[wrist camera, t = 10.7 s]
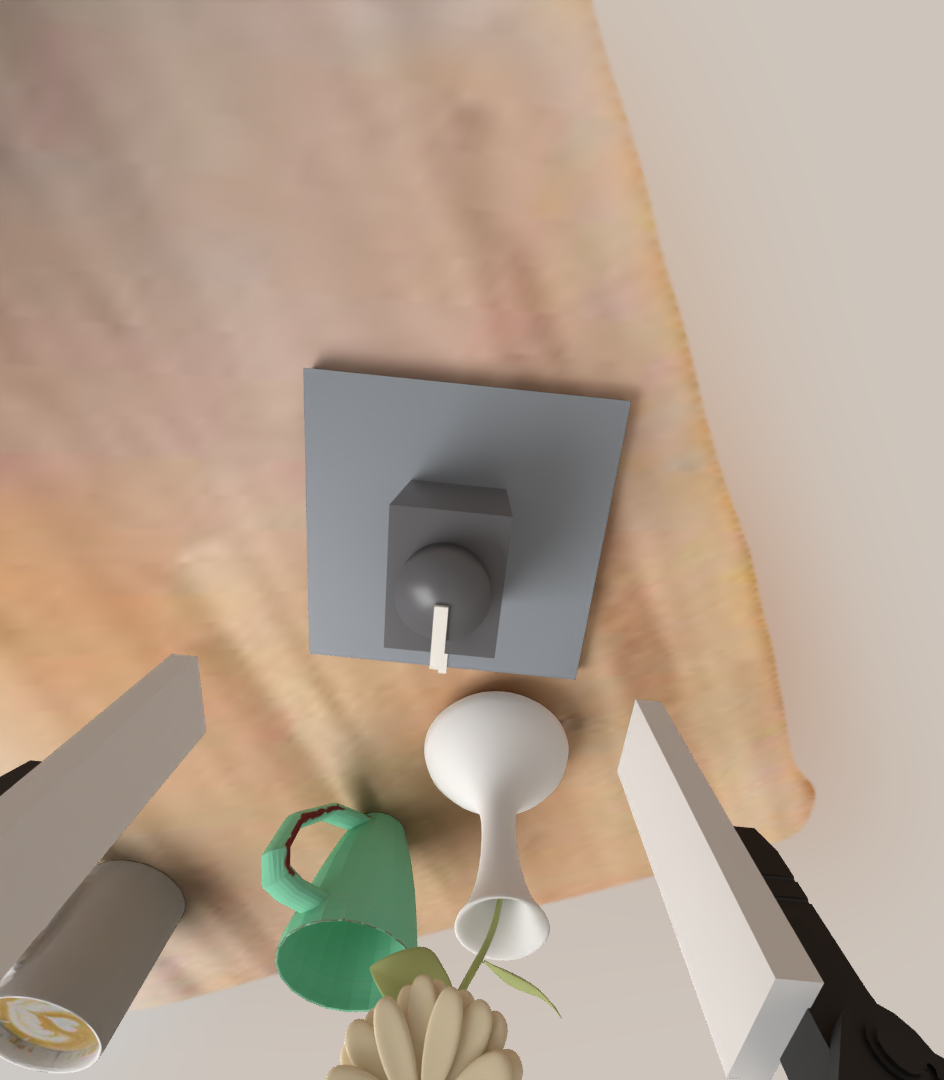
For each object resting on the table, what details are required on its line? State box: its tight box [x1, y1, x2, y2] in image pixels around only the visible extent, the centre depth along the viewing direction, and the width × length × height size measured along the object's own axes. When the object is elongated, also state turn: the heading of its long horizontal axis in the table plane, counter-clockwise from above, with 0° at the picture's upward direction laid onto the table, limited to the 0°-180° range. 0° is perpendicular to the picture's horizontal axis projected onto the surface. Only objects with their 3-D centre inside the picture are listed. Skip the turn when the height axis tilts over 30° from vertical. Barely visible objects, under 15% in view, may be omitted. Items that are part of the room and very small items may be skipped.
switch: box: [304, 368, 631, 680], centre depth 28 cm, size 20×20×6 cm
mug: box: [261, 803, 417, 1012], centre depth 35 cm, size 15×10×10 cm
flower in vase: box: [325, 691, 569, 1080], centre depth 24 cm, size 13×11×25 cm
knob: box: [384, 480, 513, 670], centre depth 26 cm, size 8×6×9 cm
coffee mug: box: [0, 860, 185, 1073], centre depth 38 cm, size 13×10×10 cm
